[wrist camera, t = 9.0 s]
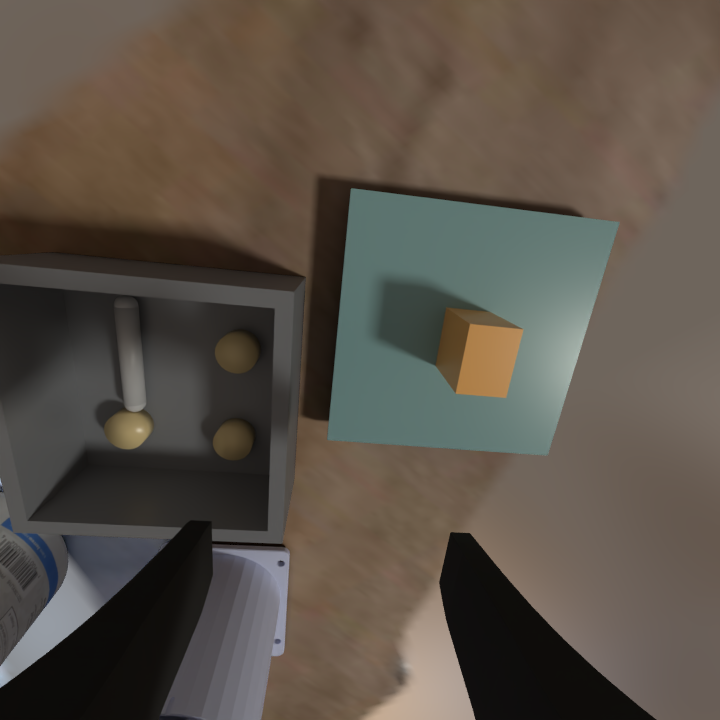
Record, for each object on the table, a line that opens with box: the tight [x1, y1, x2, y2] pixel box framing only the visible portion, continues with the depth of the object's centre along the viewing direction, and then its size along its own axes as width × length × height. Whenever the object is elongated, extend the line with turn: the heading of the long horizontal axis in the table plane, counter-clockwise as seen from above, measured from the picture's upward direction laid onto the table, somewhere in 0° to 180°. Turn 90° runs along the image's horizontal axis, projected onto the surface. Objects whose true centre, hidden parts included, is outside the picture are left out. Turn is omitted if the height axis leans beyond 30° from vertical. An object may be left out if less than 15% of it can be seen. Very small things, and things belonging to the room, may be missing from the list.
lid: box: [327, 188, 620, 455], centre depth 18 cm, size 12×12×5 cm
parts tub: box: [0, 252, 306, 544], centre depth 18 cm, size 12×12×5 cm
